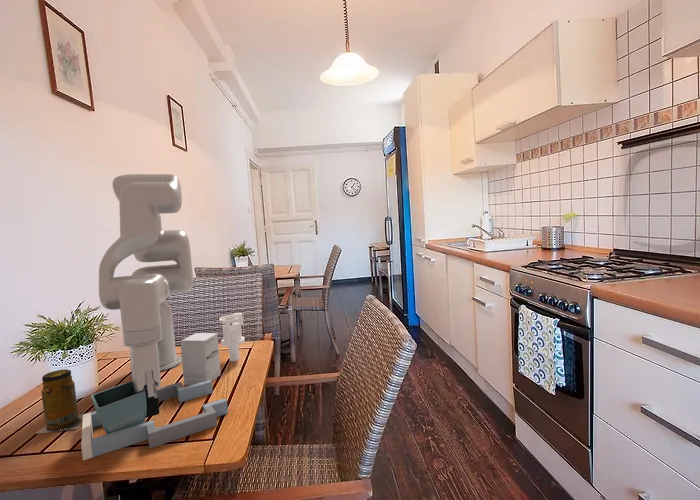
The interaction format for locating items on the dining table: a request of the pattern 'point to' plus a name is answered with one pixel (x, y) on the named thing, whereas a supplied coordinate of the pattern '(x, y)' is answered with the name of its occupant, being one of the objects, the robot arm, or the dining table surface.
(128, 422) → the flower pot
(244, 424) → the dining table surface
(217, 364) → the supplement box
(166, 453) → the dining table surface
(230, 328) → the white plastic fitting
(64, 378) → the condiment
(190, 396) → the stepped grey frame
